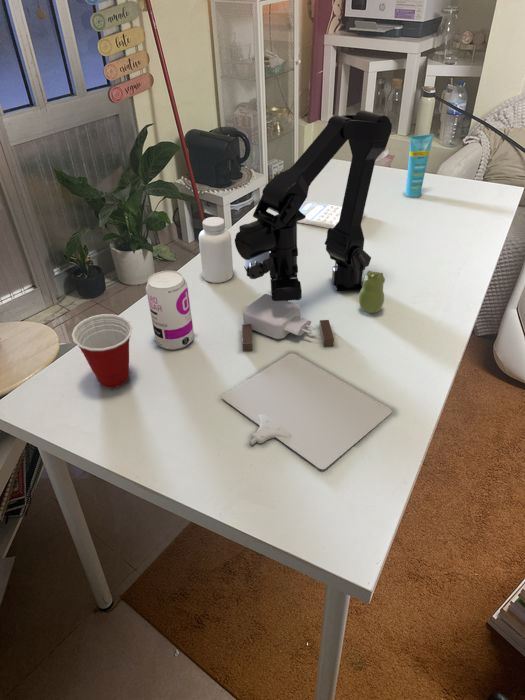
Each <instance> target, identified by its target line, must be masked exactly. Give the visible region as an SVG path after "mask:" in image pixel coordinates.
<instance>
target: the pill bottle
mask: <svg viewBox="0 0 525 700" xmlns="http://www.w3.org/2000/svg"><path fill="white" fill-rule="evenodd" d="M198 243H199V244H198V246H199V256H200V266H201V275H202V278H203V279H204V280H205V281H207V282H208V283H218V284H219V283H224V282H228V281H229V280H231V278H233V276H234V262H233V247H232V246H233V245H232V234H231V232H230V231H229V230H228V229H227V228H226V221H225V219H224V218H222V217H220V216H210V217H207V218H204V219H203V221H202V230H201V231H200V232H199V234H198Z"/></svg>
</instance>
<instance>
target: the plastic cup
mask: <svg viewBox="0 0 525 700" xmlns="http://www.w3.org/2000/svg"><path fill="white" fill-rule="evenodd" d="M133 328H134V327H133V325H132V323H131V321H130V320H129V319H127V318H125V317H124V316H122V315H118V314H114V313H102V314H96V315H92V316H89V317H87V318H85V319H82V320H81V321H80V322H79V323H78V324H77V325H75V326H74V327H73V330H72V333H71V337H72V340H73V342H74V344H76V345H77V347H78V349H80V351H81V353H82V354H83V356H84V358H85V360H86V361H87V364H88V365H89V367H90V370H91V371H92V373H93V374H94V376H95V378H96V380H97V382H98V383H99V385H101V386H102V387H103V388H108V389H111V388H112V389H113V388H114V389H115V388H117V387H121V386H122V385H124V384H125V383H126V382H127V381H128V379H129V377H130V376H129V375H130V340H131V339H130V338H131V336H132V334H133V333H132V332H133Z"/></svg>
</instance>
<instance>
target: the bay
mask: <svg viewBox="0 0 525 700" xmlns="http://www.w3.org/2000/svg"><path fill="white" fill-rule="evenodd" d="M318 323H319V324H318V325H319V332H320V336H321V340H322V345H323V347H324V348H327V347H329V348H330V347H334V345H335V344H334V343H335V338H334V334H333V330H332V327H331V322H330V320H329V319H321V320H319V322H318ZM252 336H253V335H252V329H251V324H246V325H243V324H241V342H242V343H241V344H242V352H253V337H252Z"/></svg>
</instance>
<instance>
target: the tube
mask: <svg viewBox="0 0 525 700" xmlns="http://www.w3.org/2000/svg"><path fill="white" fill-rule="evenodd" d="M434 135H435V134H434V133H429V134H422V135H410V137H409V153H408V154H409V155H408V163H407V164H408V166H407V173H406V174H407V175H406V183H405V193H404V195H405V196H406V197H408V198H419V197H420V196H421V194H422V188H423V183H424V178H425V174H426V169H427V166H428V165H427V164H428V160H429V157H430V152H431V147H432V143H433V139H434Z"/></svg>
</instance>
